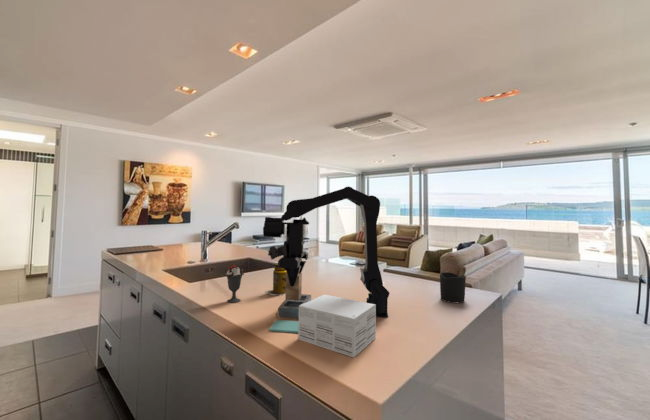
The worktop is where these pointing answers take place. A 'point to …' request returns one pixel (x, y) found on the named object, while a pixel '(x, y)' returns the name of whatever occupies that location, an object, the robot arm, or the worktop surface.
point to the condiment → (278, 281)
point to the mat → (285, 326)
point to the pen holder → (452, 287)
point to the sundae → (234, 281)
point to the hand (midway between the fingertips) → (293, 284)
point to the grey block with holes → (292, 307)
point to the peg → (294, 288)
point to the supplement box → (337, 324)
